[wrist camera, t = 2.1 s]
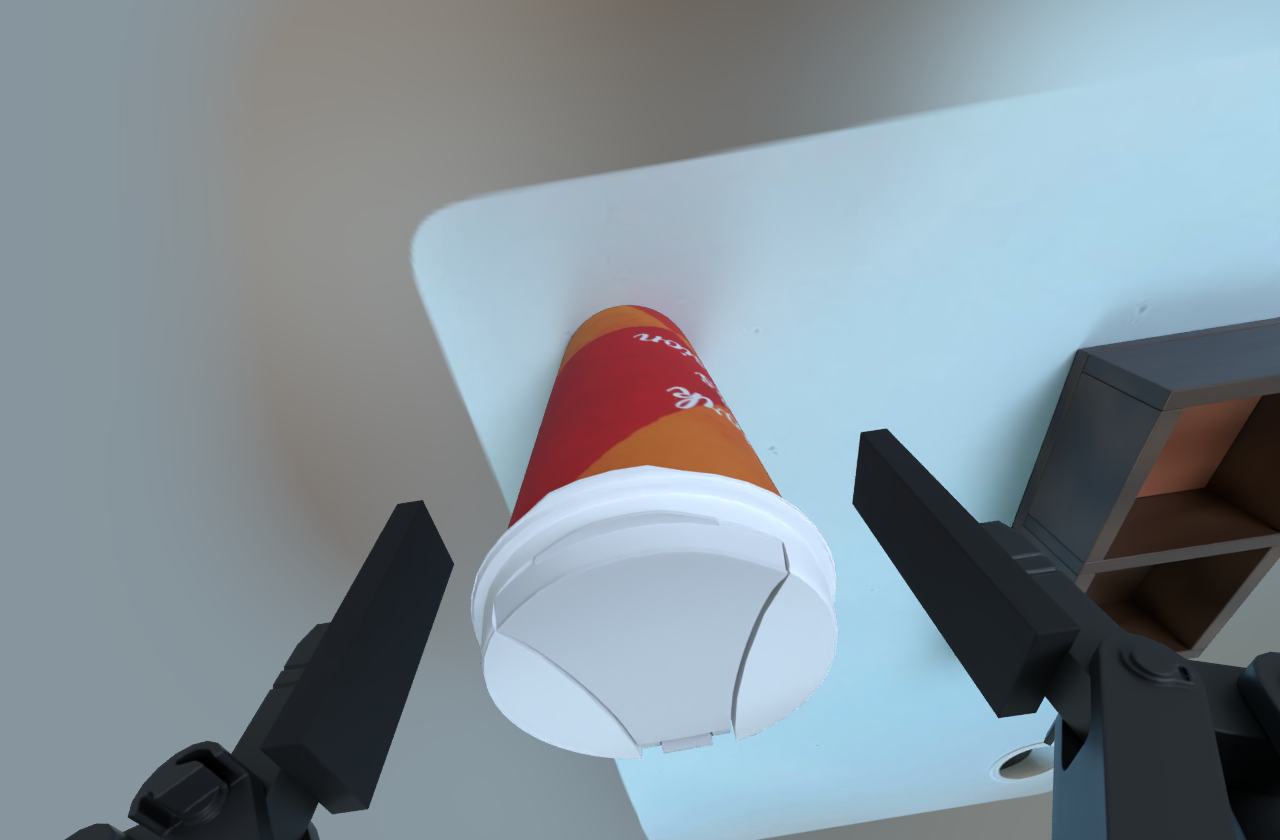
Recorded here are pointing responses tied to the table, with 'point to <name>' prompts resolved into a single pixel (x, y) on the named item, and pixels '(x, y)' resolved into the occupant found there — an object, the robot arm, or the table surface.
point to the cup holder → (1164, 479)
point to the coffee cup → (649, 561)
